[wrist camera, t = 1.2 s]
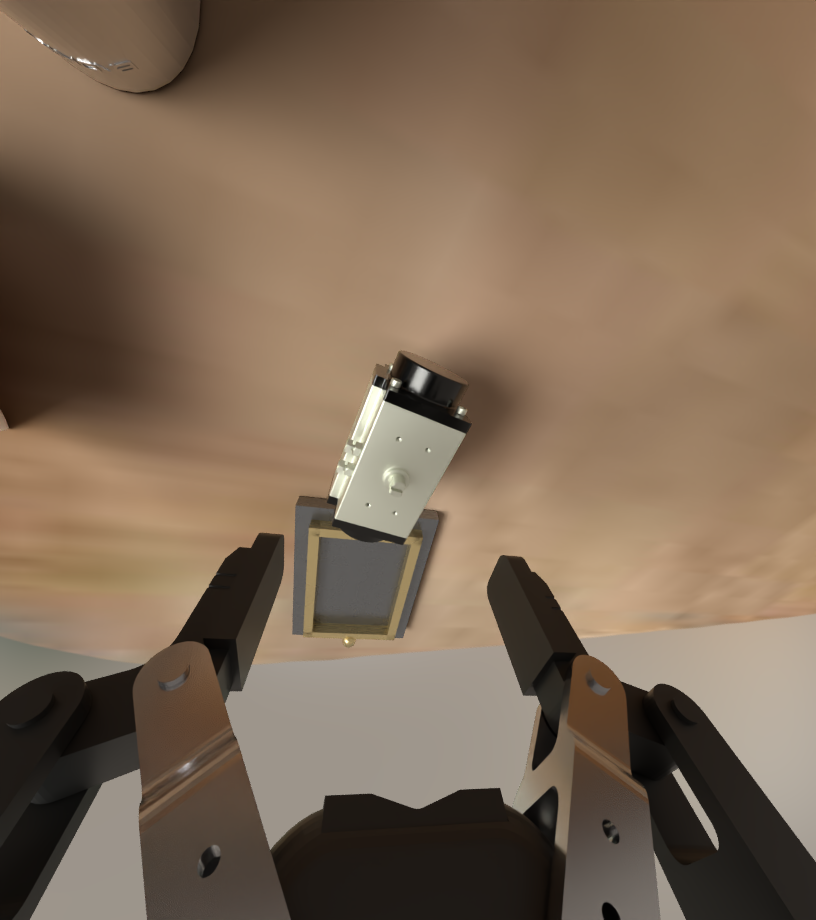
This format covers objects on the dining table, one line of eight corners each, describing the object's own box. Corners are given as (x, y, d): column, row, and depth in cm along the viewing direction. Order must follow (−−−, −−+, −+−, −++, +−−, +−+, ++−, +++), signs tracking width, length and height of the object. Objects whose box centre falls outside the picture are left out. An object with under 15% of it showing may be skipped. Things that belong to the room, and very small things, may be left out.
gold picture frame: (299, 496, 29) (291, 515, 26) (436, 510, 31) (441, 530, 29) (295, 622, 38) (289, 646, 35) (402, 627, 40) (403, 649, 38)
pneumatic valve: (444, 359, 24) (494, 405, 14) (389, 474, 29) (395, 575, 18) (381, 329, 23) (382, 355, 12) (334, 456, 27) (305, 553, 17)
